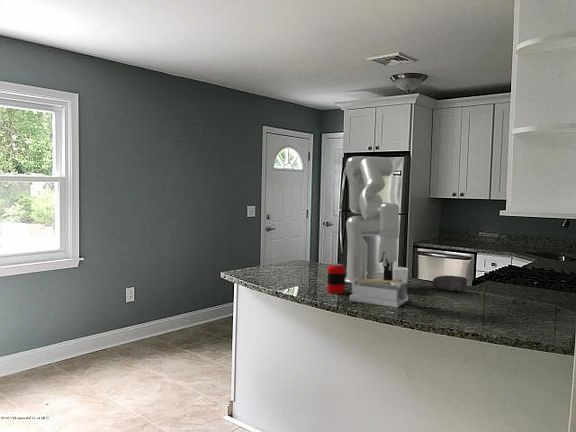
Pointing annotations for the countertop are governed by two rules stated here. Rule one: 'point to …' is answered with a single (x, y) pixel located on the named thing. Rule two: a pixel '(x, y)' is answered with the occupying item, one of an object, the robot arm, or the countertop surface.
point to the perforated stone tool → (450, 283)
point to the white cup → (400, 275)
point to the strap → (378, 280)
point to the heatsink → (379, 293)
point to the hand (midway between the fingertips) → (388, 279)
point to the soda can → (336, 279)
